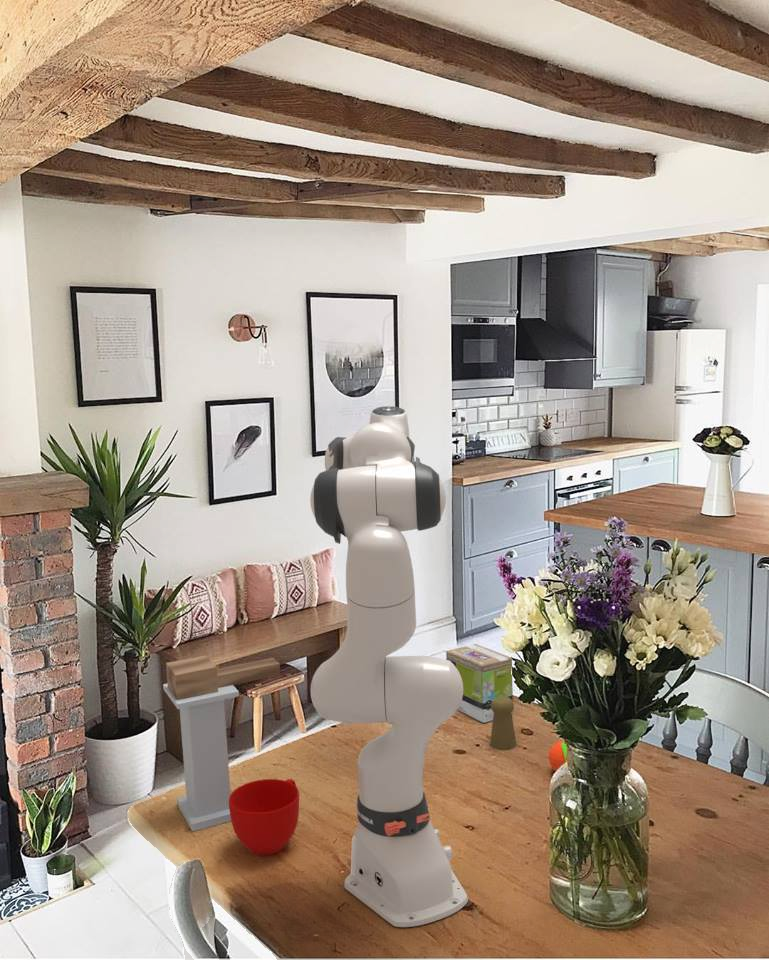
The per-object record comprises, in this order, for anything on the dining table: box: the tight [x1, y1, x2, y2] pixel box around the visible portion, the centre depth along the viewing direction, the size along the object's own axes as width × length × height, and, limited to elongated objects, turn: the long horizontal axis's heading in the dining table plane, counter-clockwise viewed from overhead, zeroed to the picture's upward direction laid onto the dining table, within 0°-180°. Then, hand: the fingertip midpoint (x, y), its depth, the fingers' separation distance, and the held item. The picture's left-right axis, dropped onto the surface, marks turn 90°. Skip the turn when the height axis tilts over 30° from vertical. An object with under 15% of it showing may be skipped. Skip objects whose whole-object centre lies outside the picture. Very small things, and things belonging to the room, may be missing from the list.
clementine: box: [548, 740, 567, 772], centre depth 189 cm, size 8×7×7 cm
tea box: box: [445, 643, 514, 723], centre depth 224 cm, size 15×10×15 cm, turn 32°
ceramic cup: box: [229, 778, 300, 856], centre depth 168 cm, size 13×17×10 cm
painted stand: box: [162, 683, 240, 832], centre depth 178 cm, size 12×12×26 cm
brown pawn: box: [489, 696, 517, 751], centre depth 204 cm, size 6×6×11 cm
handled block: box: [165, 655, 281, 700], centre depth 178 cm, size 8×22×5 cm, turn 117°
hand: (389, 526), depth 204 cm, fingers open, 8 cm apart
